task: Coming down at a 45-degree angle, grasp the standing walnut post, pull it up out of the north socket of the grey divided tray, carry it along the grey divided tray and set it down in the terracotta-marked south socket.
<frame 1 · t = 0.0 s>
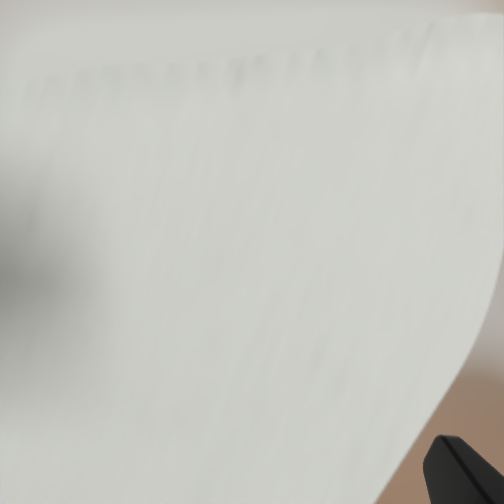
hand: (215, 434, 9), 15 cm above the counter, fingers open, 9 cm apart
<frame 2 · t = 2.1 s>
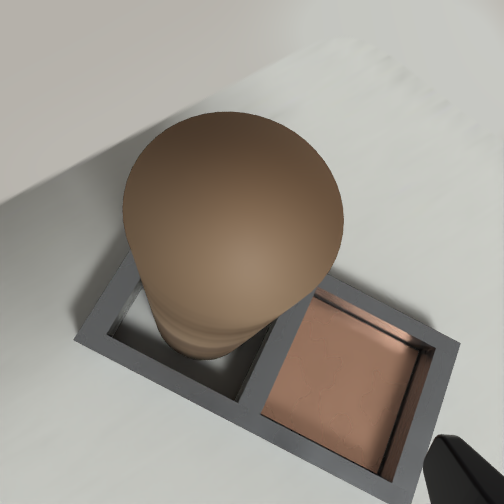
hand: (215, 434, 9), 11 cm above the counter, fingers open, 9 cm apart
post: (205, 309, 20), resting in grey divided tray
grey divided tray: (272, 345, 20), on the counter
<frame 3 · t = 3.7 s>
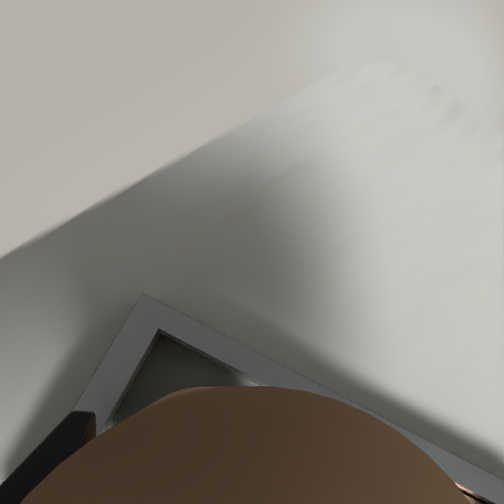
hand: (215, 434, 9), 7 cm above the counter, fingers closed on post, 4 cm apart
post: (196, 459, 14), resting in grey divided tray, touching gripper
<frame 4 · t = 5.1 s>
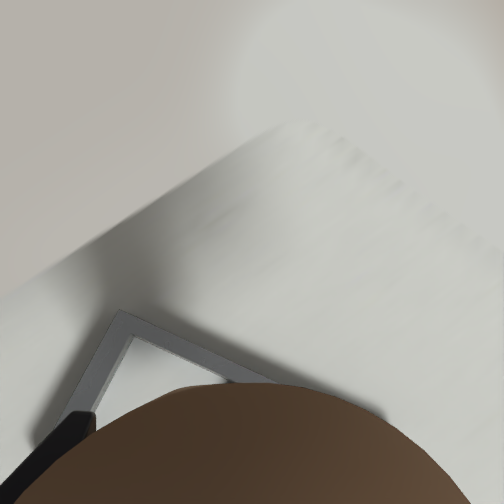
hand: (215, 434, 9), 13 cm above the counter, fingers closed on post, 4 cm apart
post: (195, 458, 14), point 7 cm above the counter, touching gripper
grey divided tray: (229, 453, 21), on the counter
when the fingers open (8 cm above the counter, at t = 6.8 s): post drops 1 cm, resting on grey divided tray.
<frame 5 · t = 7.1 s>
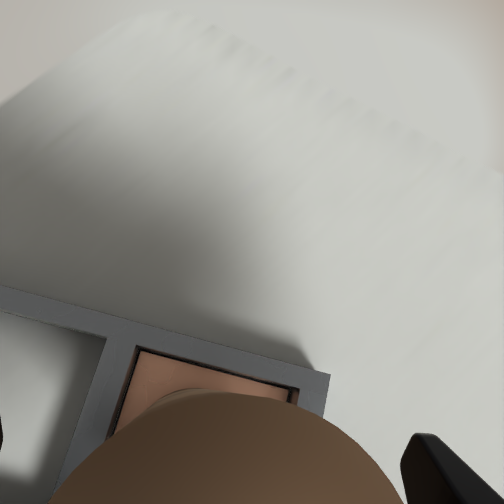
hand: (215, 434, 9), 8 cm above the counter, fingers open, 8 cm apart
post: (192, 453, 16), resting on grey divided tray
grey divided tray: (98, 427, 16), on the counter
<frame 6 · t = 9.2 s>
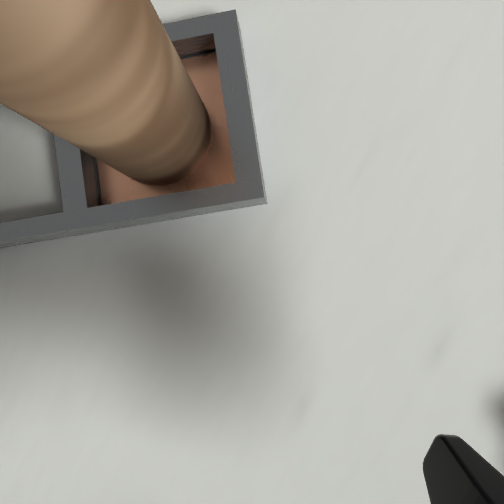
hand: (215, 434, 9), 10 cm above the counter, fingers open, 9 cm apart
post: (158, 132, 19), resting on grey divided tray
grey divided tray: (83, 147, 19), on the counter
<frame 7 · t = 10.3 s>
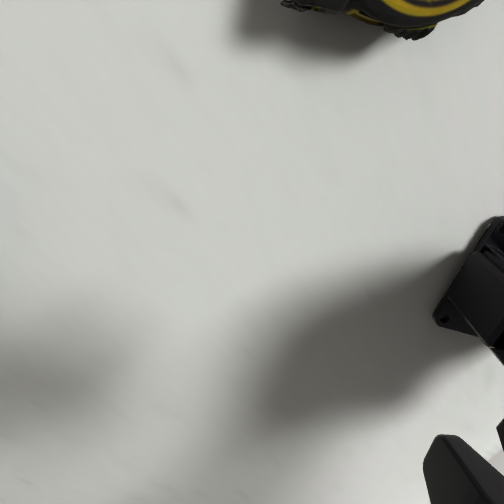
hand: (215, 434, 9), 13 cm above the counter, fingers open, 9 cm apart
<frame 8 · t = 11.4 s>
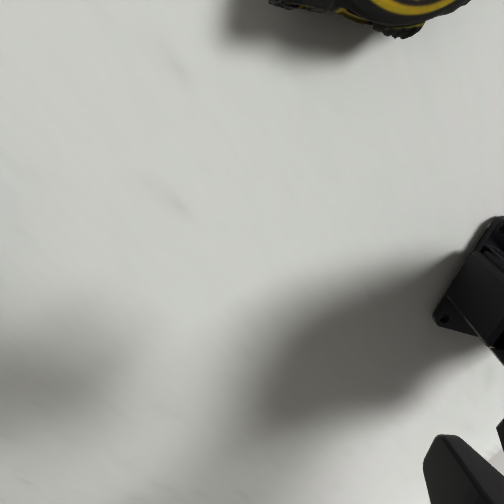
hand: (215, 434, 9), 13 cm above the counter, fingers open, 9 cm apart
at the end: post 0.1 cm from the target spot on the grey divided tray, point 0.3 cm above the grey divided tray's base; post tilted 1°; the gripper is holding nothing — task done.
